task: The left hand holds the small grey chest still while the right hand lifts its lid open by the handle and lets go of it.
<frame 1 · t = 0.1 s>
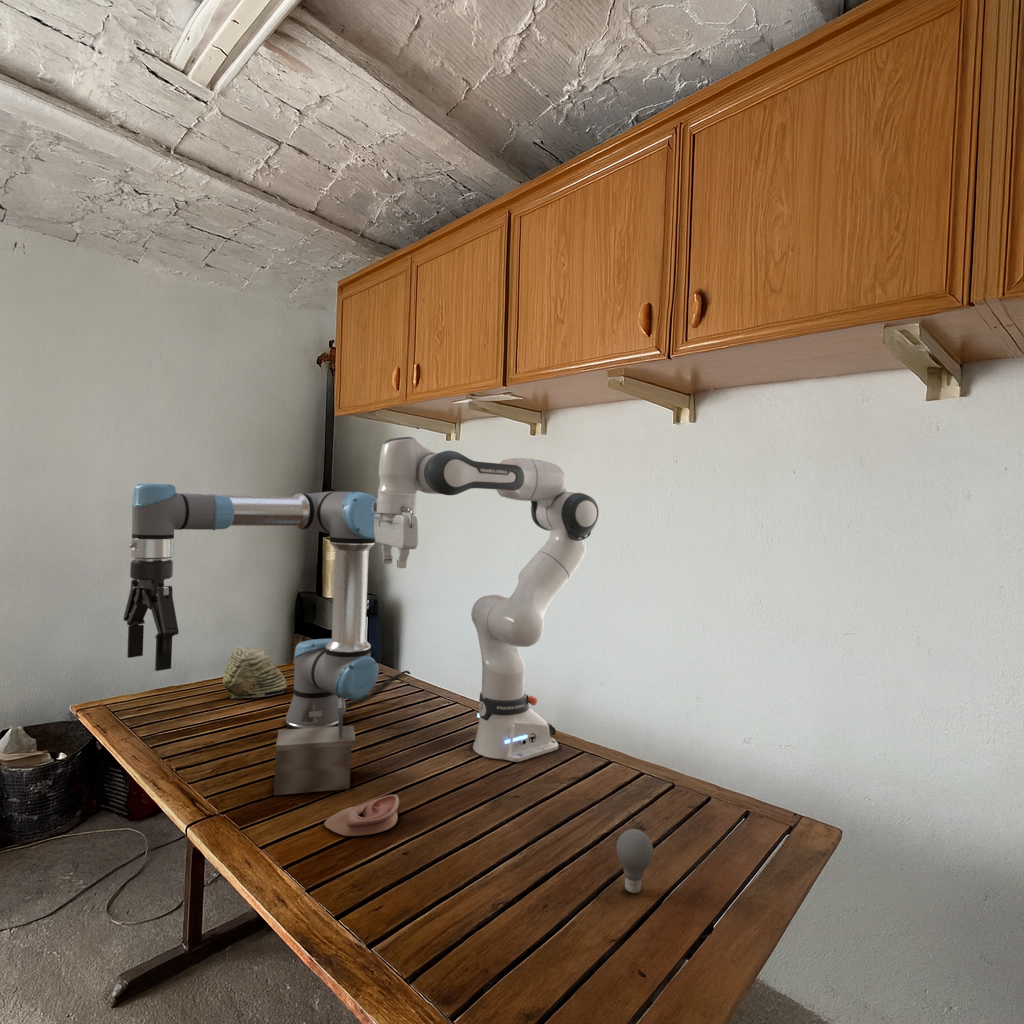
left hand: (148, 663, 129), 28 cm above the table, tool pointing down, fingers open, 13 cm apart
right hand: (394, 565, 148), 48 cm above the table, tool pointing down, fingers open, 8 cm apart
anatomical model: (361, 822, 124), on the table
lid: (317, 721, 140), point 14 cm above the table, hinge at 0.0°
fossil: (254, 694, 198), on the table
light bulb: (632, 891, 106), on the table
chest: (312, 782, 140), on the table
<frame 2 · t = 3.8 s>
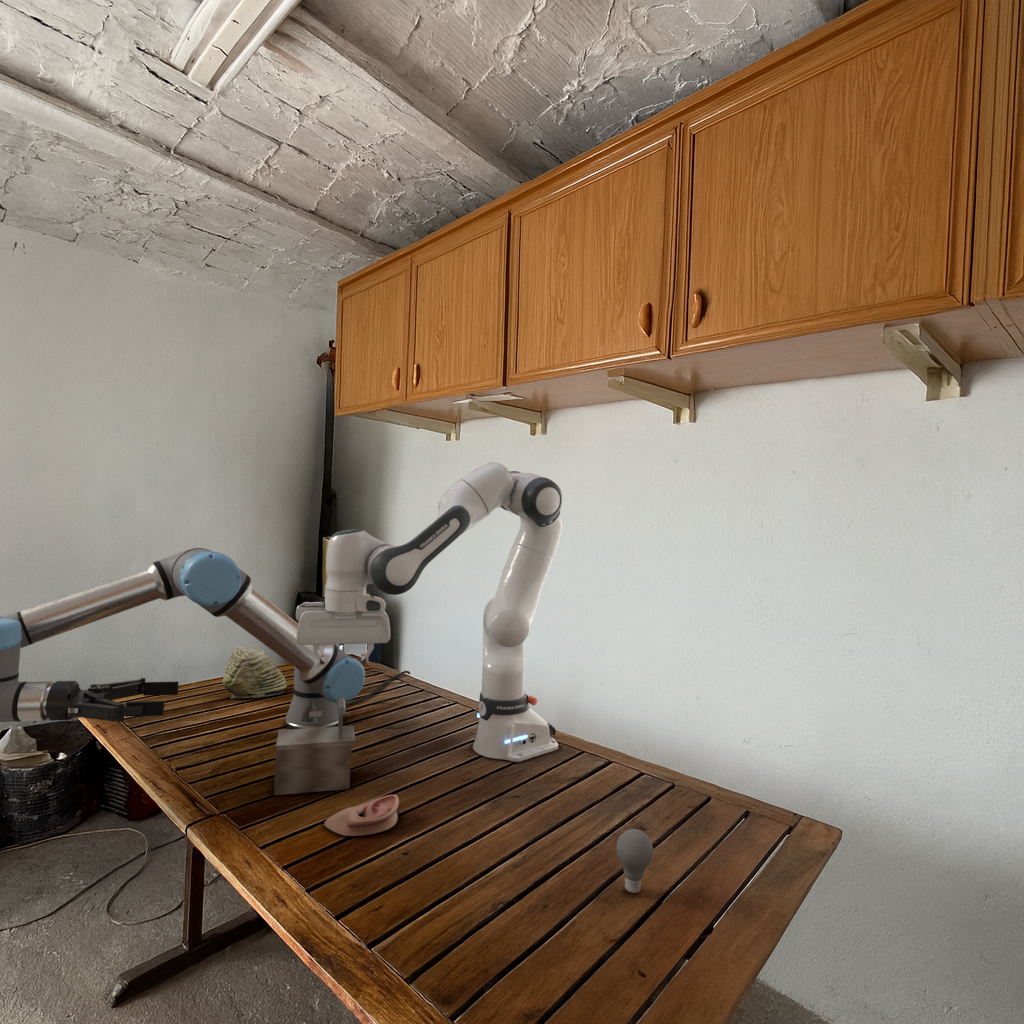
left hand: (171, 697, 131), 20 cm above the table, tool horizontal, fingers open, 13 cm apart
right hand: (343, 663, 141), 26 cm above the table, tool pointing down, fingers open, 8 cm apart
nothing on the table moved.
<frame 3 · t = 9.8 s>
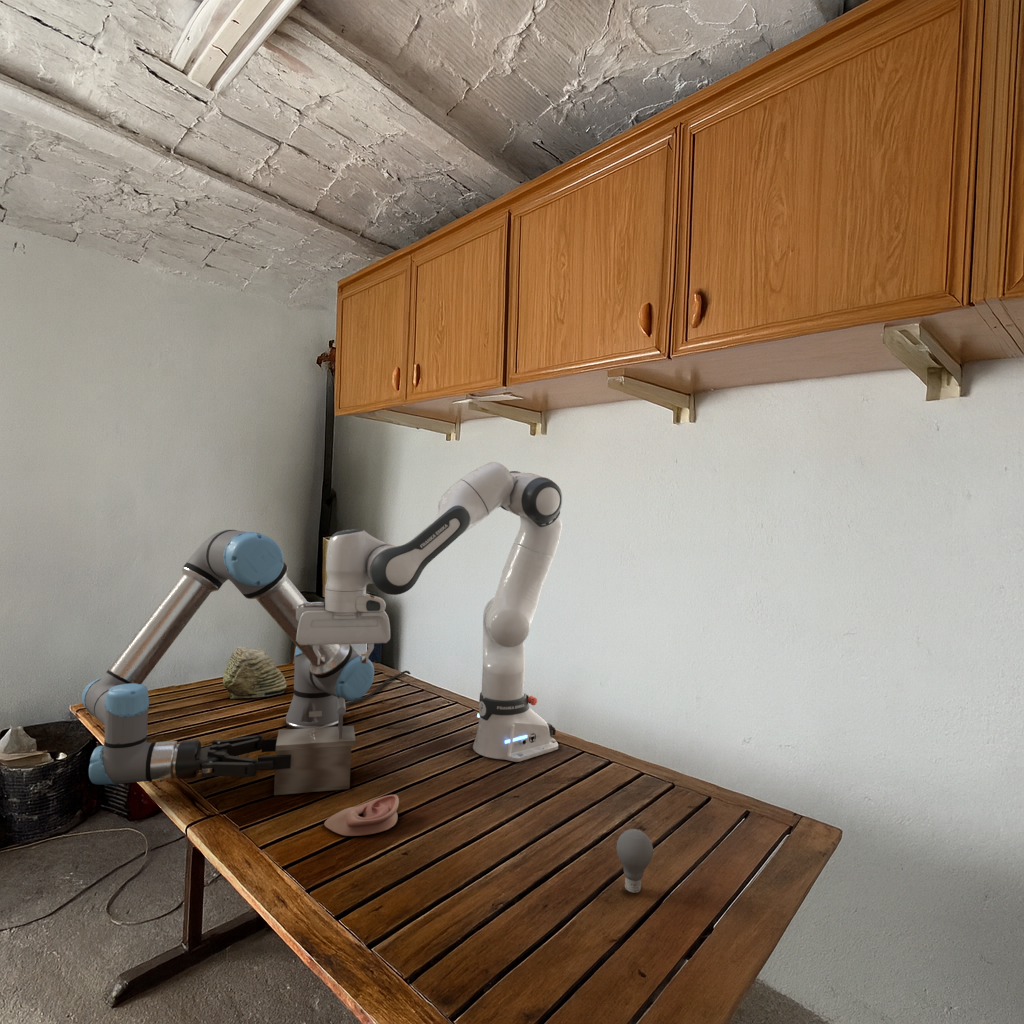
left hand: (291, 752, 139), 7 cm above the table, tool horizontal, fingers closed on chest, 9 cm apart
right hand: (343, 663, 141), 26 cm above the table, tool pointing down, fingers open, 8 cm apart
chest: (312, 782, 140), on the table, touching left hand
everything else where it was.
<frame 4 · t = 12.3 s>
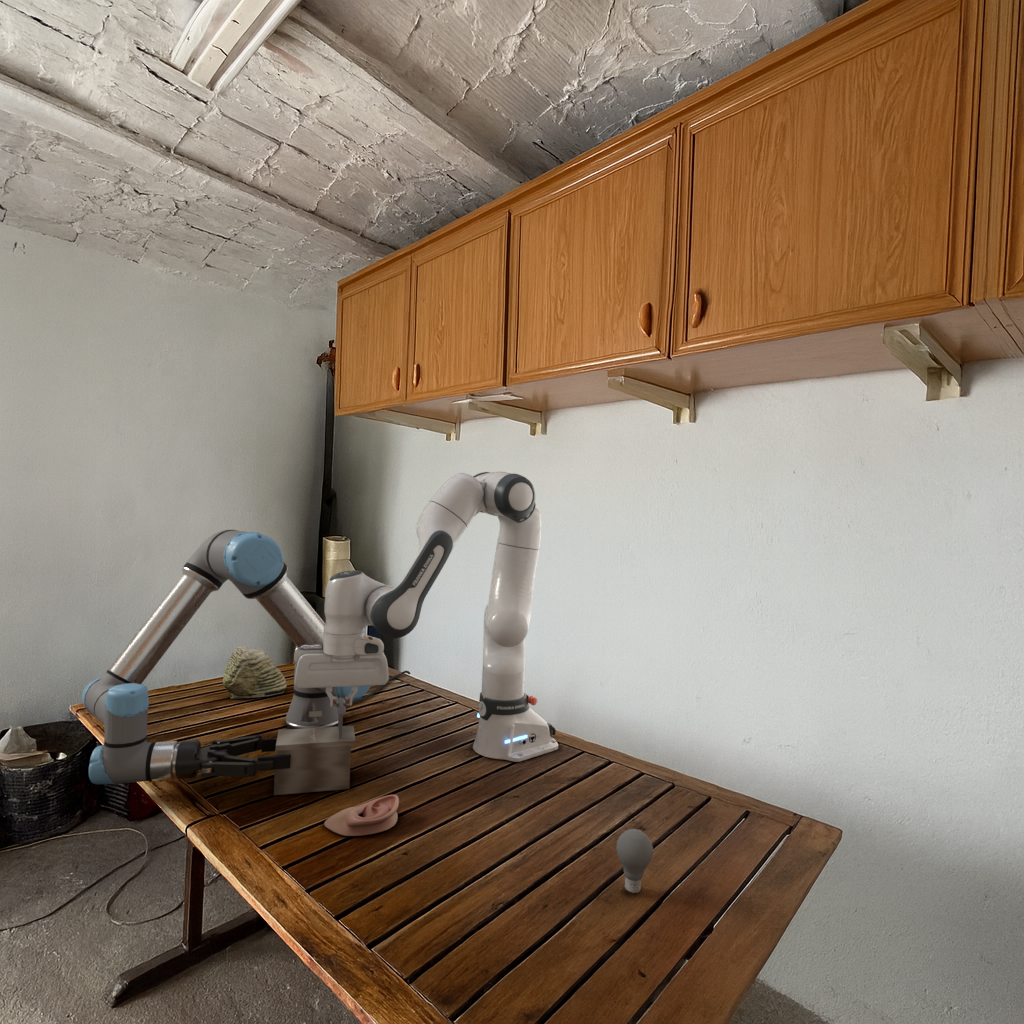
left hand: (291, 752, 139), 7 cm above the table, tool horizontal, fingers closed on chest, 9 cm apart
right hand: (341, 705, 141), 17 cm above the table, tool pointing down, fingers closed on lid, 2 cm apart
lid: (317, 721, 140), point 14 cm above the table, hinge at 0.0°, touching right hand
chest: (312, 782, 140), on the table, touching left hand
everything else where it was.
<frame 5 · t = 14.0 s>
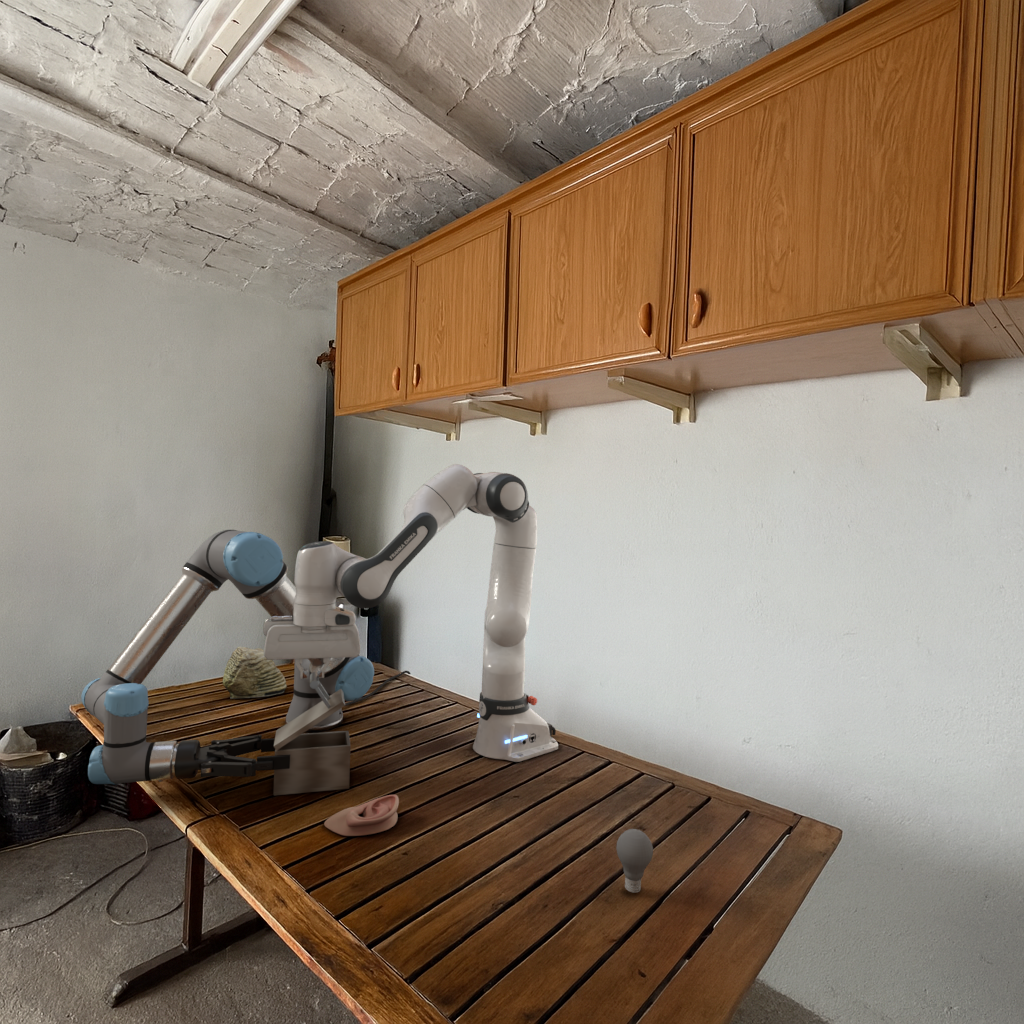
left hand: (290, 752, 139), 7 cm above the table, tool horizontal, fingers closed on chest, 9 cm apart
right hand: (312, 677, 139), 23 cm above the table, tool pointing down, fingers closed
lid: (301, 705, 139), point 17 cm above the table, hinge at 32.7°, touching right hand
chest: (312, 782, 140), on the table, touching left hand
everything else where it was.
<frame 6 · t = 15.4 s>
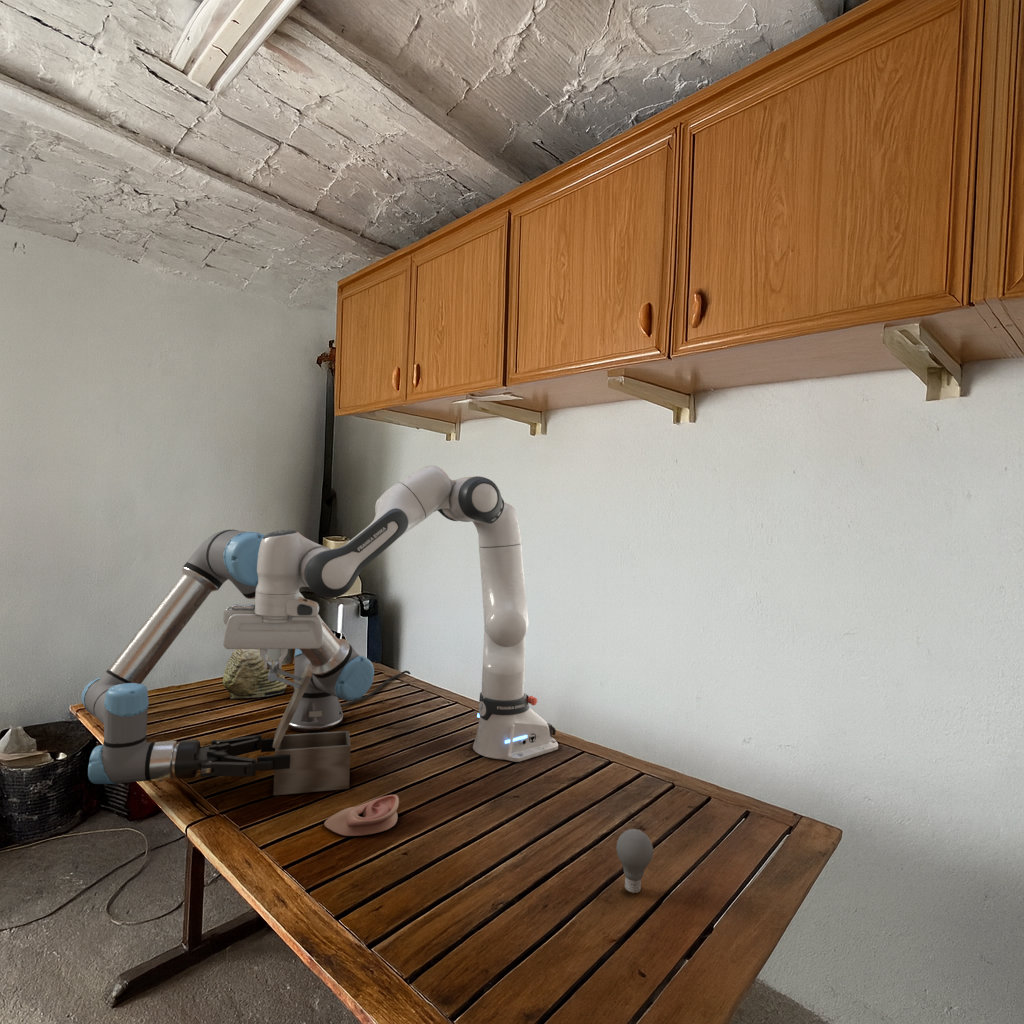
left hand: (291, 752, 139), 7 cm above the table, tool horizontal, fingers closed on chest, 9 cm apart
right hand: (273, 668, 137), 26 cm above the table, tool pointing down, fingers closed, pressing on lid
lid: (277, 699, 137), point 19 cm above the table, hinge at 67.3°, touching right hand
chest: (312, 782, 140), on the table, touching left hand
everything else where it was.
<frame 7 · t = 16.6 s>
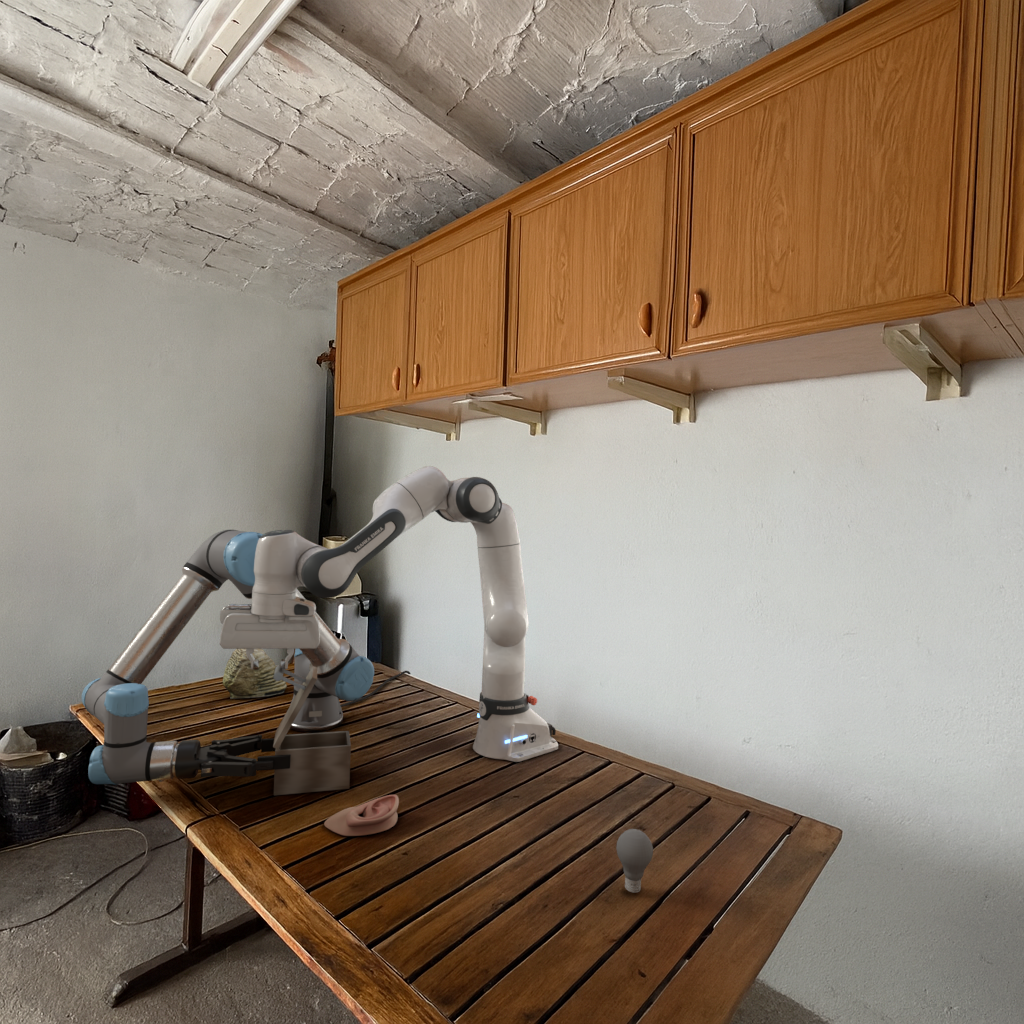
left hand: (291, 752, 139), 7 cm above the table, tool horizontal, fingers closed on chest, 9 cm apart
right hand: (269, 668, 137), 26 cm above the table, tool pointing down, fingers open, 5 cm apart
lid: (280, 699, 138), point 19 cm above the table, hinge at 62.9°, touching right hand
chest: (312, 782, 140), on the table, touching left hand
everything else where it was.
when the left hand's fingers open (7 cm above the table, at t = 20.6 s): chest stays where it is, on the table.
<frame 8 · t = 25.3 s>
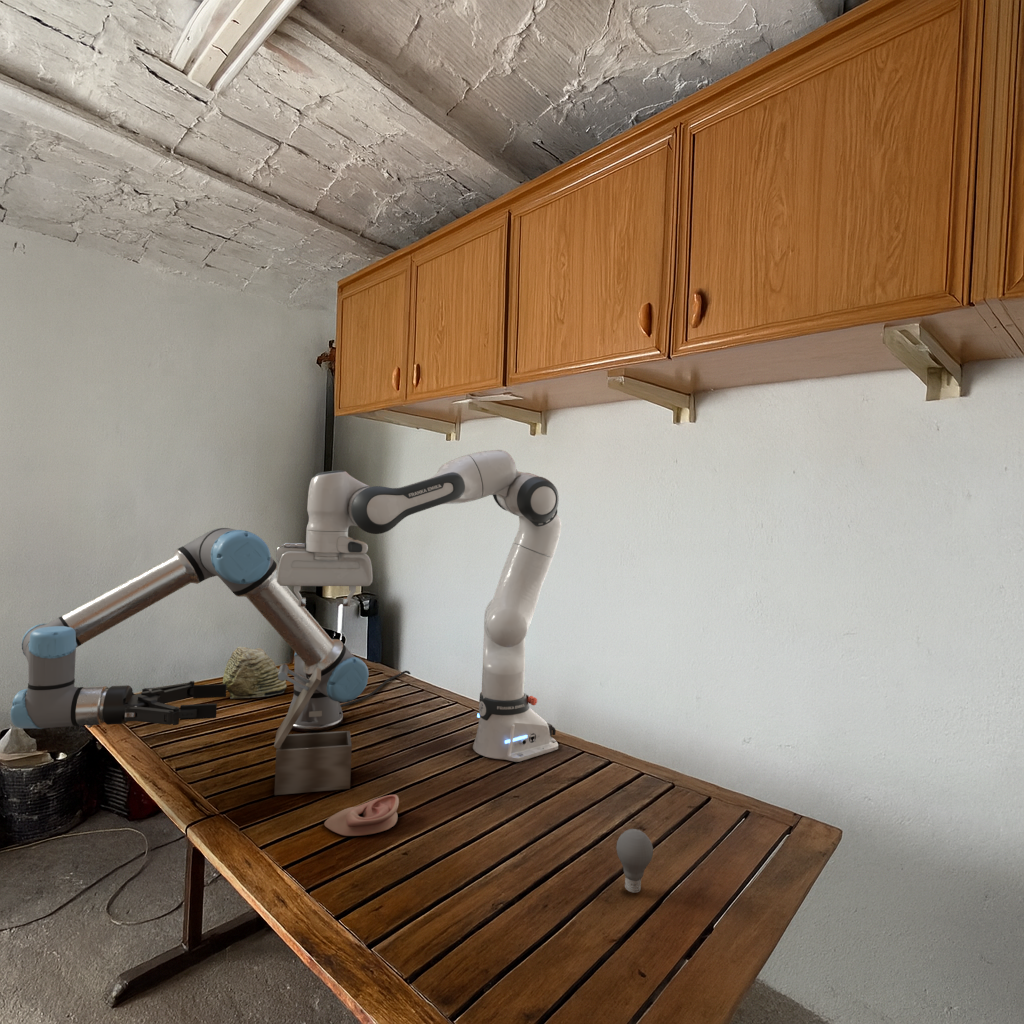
left hand: (221, 700, 134), 19 cm above the table, tool horizontal, fingers open, 13 cm apart
right hand: (324, 606, 140), 39 cm above the table, tool pointing down, fingers open, 8 cm apart
lid: (283, 699, 138), point 19 cm above the table, hinge at 60.5°
chest: (313, 782, 140), on the table
everything else where it was.
at the end: lid at +60° (first picture: +0°); the left hand is holding nothing; the right hand is holding nothing; chest tilted 0°; chest never tilted more than 1° during the clip; chest moved 0.1 cm from its start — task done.
